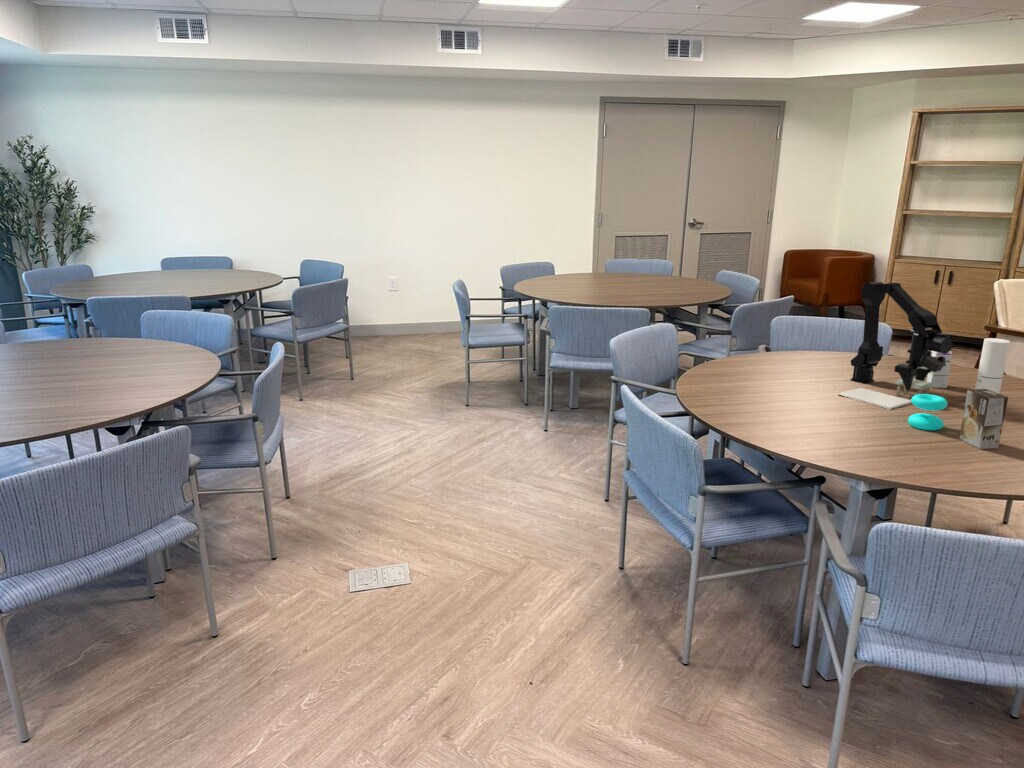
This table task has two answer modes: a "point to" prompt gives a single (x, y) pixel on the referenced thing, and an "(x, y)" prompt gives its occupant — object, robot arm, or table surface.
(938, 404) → the donuts
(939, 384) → the syrup box
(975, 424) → the coffee box
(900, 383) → the stool
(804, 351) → the table surface
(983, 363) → the cylindrical container
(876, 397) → the white rectangular board
